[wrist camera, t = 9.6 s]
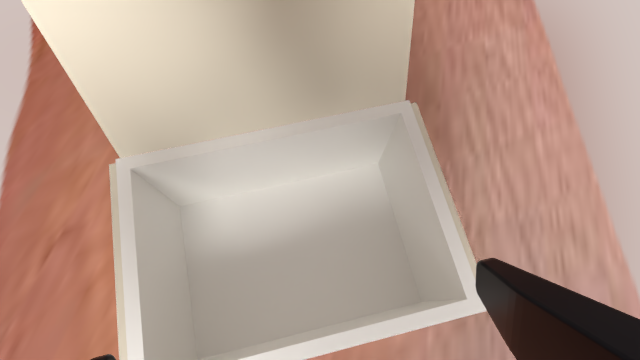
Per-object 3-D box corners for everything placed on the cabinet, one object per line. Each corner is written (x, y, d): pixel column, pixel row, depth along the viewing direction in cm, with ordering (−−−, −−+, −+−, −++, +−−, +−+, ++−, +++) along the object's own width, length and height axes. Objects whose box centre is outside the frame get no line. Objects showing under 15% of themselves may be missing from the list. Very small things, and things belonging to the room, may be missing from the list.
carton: (436, 308, 21) (493, 308, 15) (185, 374, 20) (121, 408, 13) (387, 155, 24) (414, 98, 18) (167, 202, 23) (109, 160, 16)
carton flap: (432, -191, 11) (425, -190, 11) (-62, -132, 9) (-53, -133, 10) (405, 100, 18) (401, 95, 18) (120, 158, 16) (121, 151, 17)
